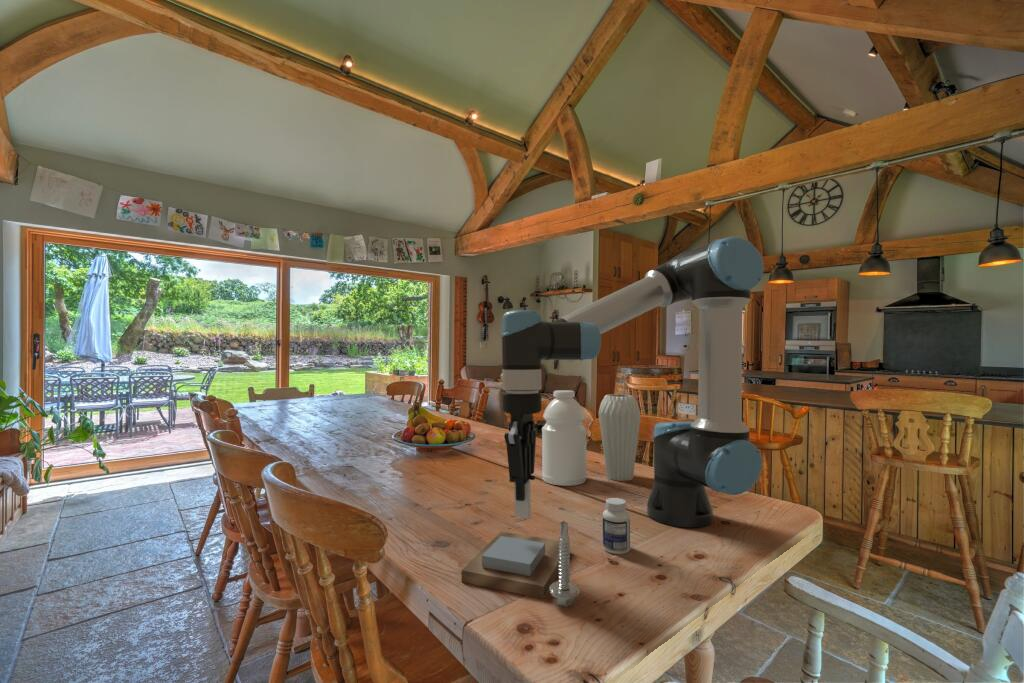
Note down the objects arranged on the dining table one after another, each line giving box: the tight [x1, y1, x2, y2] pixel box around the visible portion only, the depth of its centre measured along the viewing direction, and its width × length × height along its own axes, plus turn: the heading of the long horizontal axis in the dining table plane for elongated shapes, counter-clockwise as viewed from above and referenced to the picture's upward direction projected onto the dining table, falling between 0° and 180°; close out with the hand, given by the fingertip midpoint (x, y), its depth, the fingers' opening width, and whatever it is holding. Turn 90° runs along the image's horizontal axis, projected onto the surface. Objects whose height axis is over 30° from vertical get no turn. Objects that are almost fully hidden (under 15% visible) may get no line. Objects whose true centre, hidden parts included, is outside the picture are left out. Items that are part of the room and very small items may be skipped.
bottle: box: [541, 389, 587, 487], centre depth 140 cm, size 14×14×28 cm
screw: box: [548, 520, 580, 608], centre depth 71 cm, size 13×5×5 cm
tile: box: [482, 536, 545, 576], centre depth 81 cm, size 9×2×9 cm
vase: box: [598, 393, 642, 482], centre depth 143 cm, size 13×13×26 cm
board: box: [461, 531, 571, 600], centre depth 83 cm, size 15×18×2 cm
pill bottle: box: [602, 497, 631, 555], centre depth 91 cm, size 5×5×10 cm
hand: (522, 515), depth 84 cm, fingers closed
